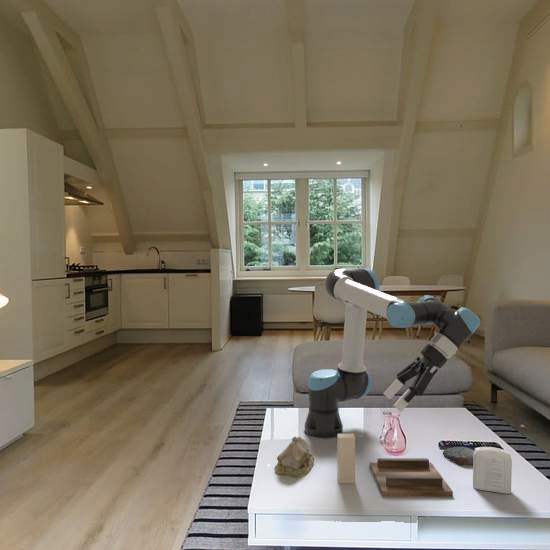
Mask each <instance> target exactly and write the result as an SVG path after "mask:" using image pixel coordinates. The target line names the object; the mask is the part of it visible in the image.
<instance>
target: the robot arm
mask: <svg viewBox="0 0 550 550" xmlns="http://www.w3.org/2000/svg"><path fill="white" fill-rule="evenodd" d="M324 287H325V291H326V293H327V294H328V295H329V296H330V297H331V298H333V299H334V300H337V301H338V302H343V303H344V304H345V311H344V312H345V314H344V328H343V340H342V341H343V342H342V355H341V362H339V363H338V364H337V370H335V369H332V368H331V369H330V368H327V369H323V368H322V369H319V370H316V371H313V372H311V374H310V375H309V377H308V384H307V387H308V413H307V415H306V418H305V423H304V432H305V434H307V435H309V436H312V437H316V438H323V439H325V438H327V439H329V438H335V437H336V438H337V434H343V432H344V429H343V428H344V426H343V423H342V419H341V416H340V413H339V403H341V402H346V401H351V400H358V399H360V398H363V397H366V396H367V395H368V394H369V393H370V391H371V389H372V378H371V377H370V376H371V375H370V373H369V371H368V370H367V367H366V366H365V364H364V355H365V354H364V353H365V344H366V343H365V341H366V332H367V331H366V329H367V328H366V327H367V318H368V317H367V314H368V311H369V312H370V313H373V314H375V315H378V316H380V317H383V318H385V319H387V322H388V323H389V324H390V326H392V327H394V328H403V329H405V328H410V327H411V328H412V327H419V326H427V325H433V326H434V327H436V328H437V329H439V331H437V333H436V334H435V335H434V336H433V337H432V338H431V339H430V340H429V343H428V344H426V345H425V346H424V347H423V348H422V349H421V351H420V354H421V355H422V356H423V357H422V358H421V357H420V356H417V357H415V359H414V360H413V361H412V362H411V363H409V364H407V366H405V367H404V368H402V370H401V371H399V372H398V373H397V374H396V379H395V380H394V381H393V382H392V383H391V384H390V386H388V388H387V389H386V390H385V391H384V392H383V393H382V394H383V395H384V396H385V397H387V399H388V400H391V399H392V398H394V396H395V395H396V394H397V393H398V392H399V390H401V388H402V387H403V386H405V385H406V384H407V383H406V382H407V381H410V380H411V379H413V378H414V377H415V378H414V381H413V382H412V384H411V386H408V389H407V390H406V391H405V392H403V394H402V395H401V396H400V397H399V398H398V400H397V401H396V402H395V403H394V404H393V407H395V409H397V410H398V411H399V412H400V413H402V412H403V411H404V410H405V408H407V406H408V405H409V404H410V403H411V402H413V400H414V399H415V398H416V397H418V396H420V397H421V396H423V394H424V392H425V391H426V389H427V387H428V386H429V384H430V382H431V380H432V379H433V378H434V375H435V374H436V373H437V372H438V371H439V370H438V369H441V368H443V367H444V365H445V364H446V363H447V362H448V359H451V357H453V356H454V355H457V351H458V349H460V348H461V347H462V346H463V344H464V343H465V342H466V341H467V340H468V339H469V338H470V337H471V336H472V335H474V333H475V332H476V330H477V329H478V328H479V327H480V325H481V320H480V317H479V316H478V315H476V314H475V313H474V312H473V311H472V310H471V309H468V308H467V307H464V306H462V307H460V308H459V309H457V310H456V309H454V308H452V307H450V306H449V305H447V304H445V303H444V302H442V301H440V299H438V298H437V297H434V296H432V295H429V294H427V295H423V297H420V298H419V299H418V300H417V301H408V300H407V301H406V300H404V299H401V298H399V297H397V296H394V295H391V294H388V293H385V292H383V291H380V281H379V278H378V276H377V275H376V272H375V271H374V270H372V269H370V268H363V267H351V268H336V269H334V270H332V271H330V272H329V273H328V274H327V276H326V278H325V280H324Z"/></svg>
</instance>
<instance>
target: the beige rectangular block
mask: <svg viewBox="0 0 550 550" xmlns="http://www.w3.org/2000/svg"><path fill="white" fill-rule="evenodd" d="M336 440H337V441H336V442H337V443H336V444H337V445H336V447H337V449H336V450H337V451H336V452H337V453H336V456H337V458H336V459H337V460H336V461H337V462H336V464H337V465H336V467H337V469H336V470H337V475H336V477H337V482H338V484H356V436H355V434H354V433H342V434H337V436H336Z"/></svg>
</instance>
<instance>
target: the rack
mask: <svg viewBox="0 0 550 550" xmlns="http://www.w3.org/2000/svg"><path fill="white" fill-rule="evenodd" d="M376 460H377V462H375V461H374V462H369V469H370V470H371V471H370V472H371V473H373V474H372V476H373V478H374V481H375V482H376V485H377V487H378V489H379V492H380V494H381V496H382V497H454V495H453V493H454V492H453V490H452V488H451V486H450V485H449V484H448V483H447V482H446V480H445V479H444V477H443V476H442V475H441V473H440V472H439V471H438V470H437V468H436V467H435V466H434V464H433V463H432V462H430V460H429V458H426V457H425V458H424V457H423V458H422V457H419V458H417V457H415V458H413V457H412V458H407V457H406V458H404V457H401V458H399V457H395V458H393V457H392V458H389V457H388V458H387V457H385V458H384V457H383V458H382V457H381V458H380V457H379V458H377V459H376Z"/></svg>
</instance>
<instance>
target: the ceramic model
mask: <svg viewBox="0 0 550 550" xmlns="http://www.w3.org/2000/svg"><path fill="white" fill-rule="evenodd" d="M310 451H311V450H310V447H309V445H308V444H307V441H306V440H304V438H302V437H301V436H293V437H292V438H291V442H290V443H289V444H288V445H287V447H285V449H284V450H283V451H282V452H280V453H279V455H277V456H276V457H277V458H276V460H277V463H276V465H275V466H274V472H275V473H276V474H277V475H281V476H288V477H293V478H297V477H303V476H306V475H307V474H308V473H309V472H310V471H311V469H312V468H313V466H314V463H315V456H314V454H313V453H310Z"/></svg>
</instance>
